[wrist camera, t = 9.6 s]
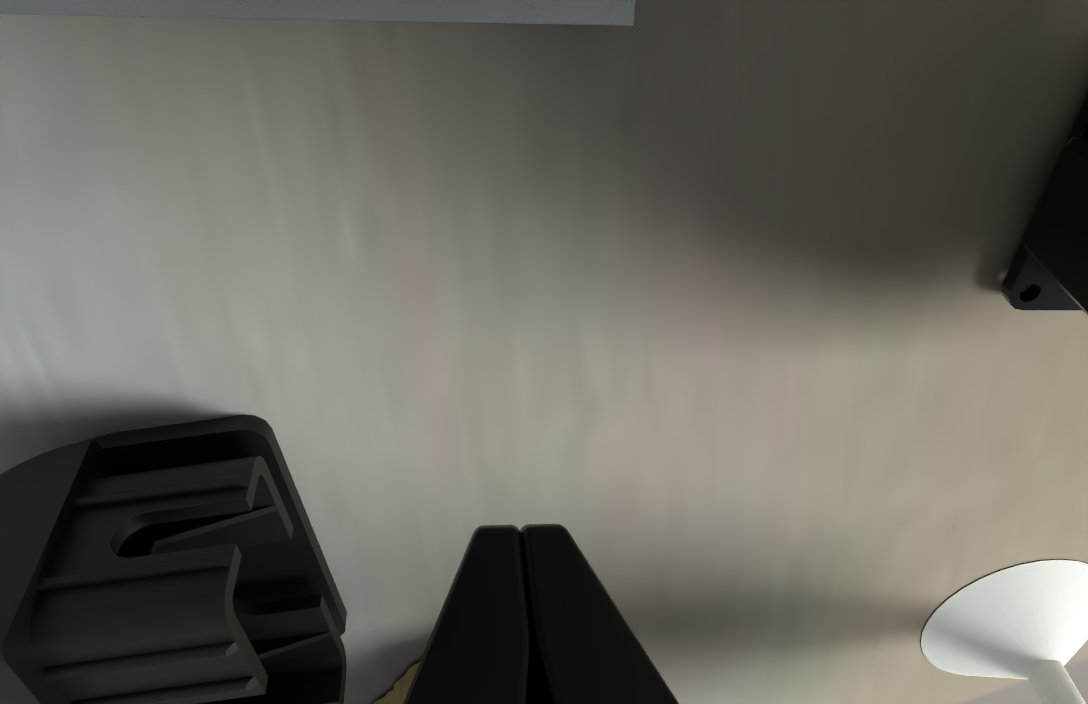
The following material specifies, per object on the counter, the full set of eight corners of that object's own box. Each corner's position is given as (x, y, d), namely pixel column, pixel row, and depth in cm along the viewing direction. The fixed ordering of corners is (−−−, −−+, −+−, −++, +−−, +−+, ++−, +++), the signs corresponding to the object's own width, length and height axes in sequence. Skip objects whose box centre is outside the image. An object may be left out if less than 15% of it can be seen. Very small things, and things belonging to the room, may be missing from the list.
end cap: (-20, 433, 23) (-160, 675, 18) (260, 394, 23) (205, 625, 18) (134, 658, 29) (65, 887, 24) (354, 628, 29) (335, 850, 24)
